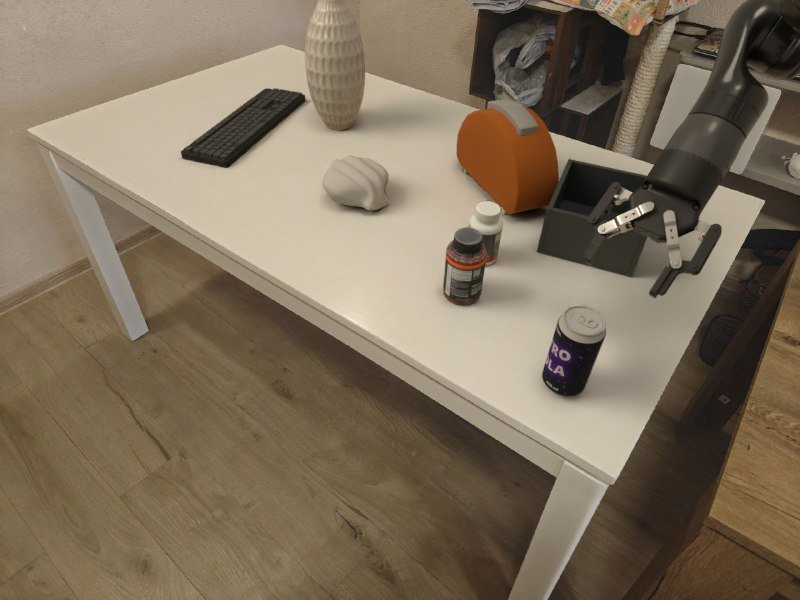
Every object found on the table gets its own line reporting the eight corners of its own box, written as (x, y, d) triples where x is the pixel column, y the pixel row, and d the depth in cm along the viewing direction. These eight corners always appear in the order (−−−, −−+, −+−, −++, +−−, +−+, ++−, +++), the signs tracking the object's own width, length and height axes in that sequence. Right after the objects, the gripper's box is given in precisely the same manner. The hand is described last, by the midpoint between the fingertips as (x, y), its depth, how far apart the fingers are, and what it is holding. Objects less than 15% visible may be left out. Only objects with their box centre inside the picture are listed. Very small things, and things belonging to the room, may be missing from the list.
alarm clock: (553, 215, 101) (574, 130, 89) (511, 226, 98) (527, 139, 87) (490, 156, 116) (501, 78, 105) (453, 164, 114) (460, 84, 102)
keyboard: (266, 93, 138) (265, 85, 137) (306, 100, 136) (305, 92, 134) (180, 158, 114) (178, 149, 113) (227, 168, 111) (225, 159, 110)
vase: (301, 130, 124) (285, -8, 105) (327, 108, 132) (317, -23, 113) (351, 141, 120) (344, 0, 101) (375, 118, 129) (373, -16, 110)
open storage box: (643, 220, 100) (659, 178, 94) (631, 277, 88) (649, 233, 82) (558, 200, 104) (568, 158, 98) (536, 252, 93) (546, 208, 87)
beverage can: (551, 360, 75) (571, 296, 67) (590, 379, 73) (616, 316, 65) (533, 386, 72) (552, 323, 64) (574, 407, 70) (598, 344, 61)
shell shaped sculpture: (319, 184, 107) (316, 155, 103) (381, 177, 110) (381, 147, 105) (329, 222, 98) (326, 191, 94) (397, 212, 101) (397, 182, 96)
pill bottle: (460, 261, 91) (466, 212, 84) (470, 243, 94) (477, 195, 87) (491, 270, 89) (500, 221, 82) (501, 252, 93) (509, 203, 86)
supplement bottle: (452, 276, 88) (458, 218, 80) (486, 289, 86) (496, 230, 78) (435, 298, 84) (440, 239, 76) (471, 311, 82) (479, 252, 74)
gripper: (634, 129, 66) (562, 246, 67) (758, 173, 59) (673, 302, 60) (640, 154, 72) (574, 260, 74) (752, 196, 65) (676, 312, 67)
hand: (619, 279), depth 67 cm, fingers open, 8 cm apart
